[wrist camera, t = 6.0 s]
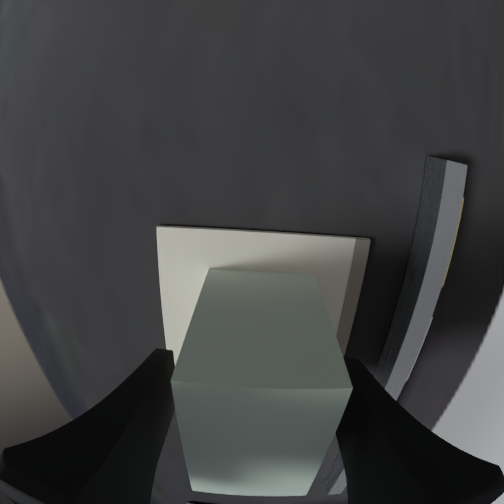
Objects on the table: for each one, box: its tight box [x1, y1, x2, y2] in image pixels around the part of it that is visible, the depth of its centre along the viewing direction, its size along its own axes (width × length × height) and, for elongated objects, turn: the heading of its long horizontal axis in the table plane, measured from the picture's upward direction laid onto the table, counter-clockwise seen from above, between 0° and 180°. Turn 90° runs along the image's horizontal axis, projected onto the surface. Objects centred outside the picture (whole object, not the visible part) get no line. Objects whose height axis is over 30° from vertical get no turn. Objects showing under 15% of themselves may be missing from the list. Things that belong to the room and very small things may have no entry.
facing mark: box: [157, 225, 371, 366], centre depth 13 cm, size 9×8×1 cm
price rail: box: [326, 156, 468, 495], centre depth 13 cm, size 22×1×2 cm, turn 177°
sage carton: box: [171, 268, 353, 496], centre depth 10 cm, size 4×6×6 cm
